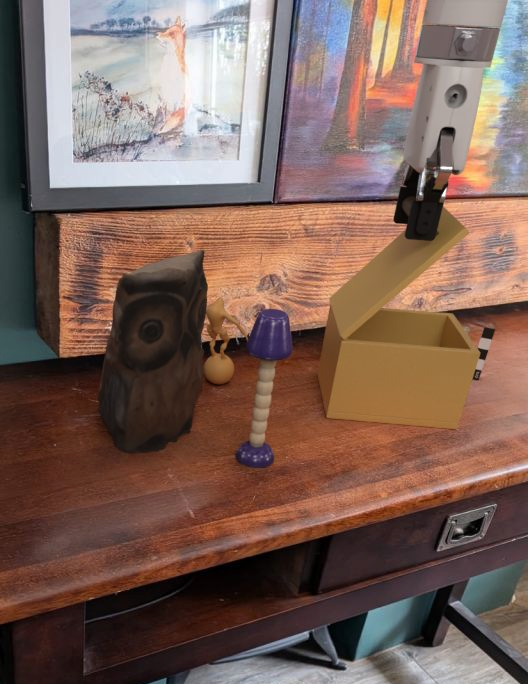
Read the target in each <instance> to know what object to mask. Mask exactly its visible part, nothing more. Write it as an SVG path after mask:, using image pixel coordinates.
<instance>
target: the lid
mask: <svg viewBox="0 0 528 684" xmlns="http://www.w3.org/2000/svg"><path fill="white" fill-rule="evenodd" d="M412 200H416V198H415V197H413V196H410V197H407V198H406V199H405V200H404V201H403V203H402V209H403V210H404V212H405V213H406V214H407V215H408V216H409V214H410V209H411V205H412ZM405 231H406V229H404V230H403V231H402V232H401V233H400V234H399V235H398V236H396V237H395V238H394V239H393V240H392V241H391V242H390V243H389V244H388V245H387V246H385V247H384V248H383V249H382V250H381V251H380V252H379V253H378V254H376V255H375V256H374V257H373V258H372V259H370V261H368V263H366V264H365V265H364V266H363V267H361V269H360V270H358V272H357V273H355V274H354V275H353V276H352V277H351V278H350V279H348V280H347V281H346V282H345V283H344V284H343V285H342V286H341V287H340V288H339V289H337V291H335V292H334V293H333V294H332V295H331V296H330V297H329V298H328V299H329V303H330V304H331V307H332V310H333V313H334V317H335V320H336V323H337V327H338V330H339V333H340V336H341V337H342V338H343V339H344V340H345V339H346V338H347V337H348V336H350V335H351V334H352V333H353V332H354V331H356V330H357V329H358V328H359V327H360V326H361V325H363V324H364V323H365V322H366V321H367V320H368V319H370V318H371V317H372V316H373V315H374V314H375V313H377V312H378V311H379V310H380V309H381V308H385V306H386V305H387V304H389V302H391V301H392V300H393V299H394V298H395V297H397V296H398V295H399V294H400V293H402V291H403V290H405V289H406V288H407V287H408V286H410V285H411V284H412V283H413V282H414V281H415V280H416V279H418V278H419V277H420V276H421V275H422V274H423V273H425V272H426V271H427V270H429V269H430V267H432V266H433V265H434V264H435V263H436V262H438V261H439V260H440V259H441V258H442V257H444V256H445V255H446V254H448V252H449V251H450V250H452V249H453V248H454V247H455V246H457V245H458V244H459V243H461V241H462V240H463V239H464V238H466V237H467V236H468V235H469V234H470V231H469V229H468V228H467V227H466V226H465V225H464V224H462V223H461V221H460V220H458V218H456V217H455V216H454V215H453V214H452V213H451V212H450V211H449V210H448V209H447V208H446V207H445V206H444V205H443V209H442V213H441V216H440V220H439V224H438V228H437V232H436V236H435V239H434V240H433V241H425V240H411V239H406V237H405Z"/></svg>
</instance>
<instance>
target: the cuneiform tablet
mask: <svg viewBox="0 0 528 684" xmlns="http://www.w3.org/2000/svg"><path fill="white" fill-rule="evenodd" d="M461 326H462V327H463V329H464V330H465V331H466V333H467V334H468V336H469V337H470V334H471V332H472V327H470V326H466V325H464V324H463V325H462V324H461ZM495 332H496V328H491V327H487V326H484V327H483V330H482V333H481V336H480V339H479V343H478V346H477V348H478V350H479V351H480V356H479V360H478V363H477V366H476V369H475V372H474V376H473V379H472V380H475V381H479V380H480V377H481V374H482V373H483V372H482V371H483V369H484V365H485V362H486V360H487V357H488V353H489V350H490V347H491V345H492V342H493V338H494V335H495Z"/></svg>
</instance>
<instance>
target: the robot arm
mask: <svg viewBox="0 0 528 684" xmlns="http://www.w3.org/2000/svg"><path fill="white" fill-rule="evenodd" d="M508 2H509V0H426V2H425V7H424V11H423V17H422V21H421V27H420V31H419V36H418V41H417V45H416V51H415V55H414V59H413V63H414V64H422V68H421V72H420V77H419V81H418V82H417V87H416V91H415V92H416V93H415V96H414V100H413V104H412V109H411V113H410V118H409V122H408V125H407V126H408V127H407V131H406V136H405V142H404V148H403V159H404V161H405V162H406V164H405V170H404V173H403V176H402V180H401V186H399V191H398V195H397V201H396V204H395V210H394V215H393V220H392V221H393V222H394V224H396V225H397V224H399V225H406V227H405V230H406V231H405V237H406V239H411V240H425V241H433V240H434V239H435V236H436V232H437V228H438V224H439V220H440V216H441V213H442V209H443V206H444V204H445V201H446V196H447V191H448V190H447V189H448V187H449V179H450V177H451V175H453V176H460V175H461V174H462V173H463V172H464V171H465V168H466V165H467V161H468V156H469V152H470V146H471V142H472V138H473V134H474V129H475V123H476V120H477V114H478V110H479V104H480V98H481V93H482V86H483V80H484V72H485V68H488V69H489V68H491V67H492V63H493V59H494V55H495V52H496V47H497V44H498V39H499V36H500V32H501V28H502V25H503V21H504V17H505V13H506V9H507V4H508ZM410 196H413V197H415V198H416V200H412V205H411V209H410V214H409V216H408V215H407V214H406V213H405V212H404V210H403V209H402V203H403V201H404V200H405V199H406V198H407V197H410Z"/></svg>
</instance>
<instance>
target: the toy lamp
mask: <svg viewBox="0 0 528 684" xmlns="http://www.w3.org/2000/svg"><path fill="white" fill-rule="evenodd" d="M245 349H246V352H247V353H248V354H249V355H250V356H252V357H253V358H256V359H259V365H260V366H259V367H258V370H257V378H258V379H257V381H256V386H255V390H256V394H255V395H254V399H253V400H254V402H253V403H254V406H253V408H252V412H251V414H252V415H251V416H252V420H251V422H250V433H249V434H248V440H245V441H244V442H243V443H241V444H240V445H239V446H238V448H237V450H236V453H235V459H236V461H238V462H239V463H240V464H242V465H244V466H246V467H250V468H258V469H259V468H260V469H261V468H266V467H269V466H271V465H272V464H273V463H274V461H275V454H274V450H273V449H272V447H271V445H270V444H269V443H267V442H265V441H266V432H267V429H268V418H269V417H270V406H271V403H272V392H273V389H274V381H273V380H274V378H275V376H276V365H277V363H278V361H283V360H286V359H289V357H291V355H292V353H293V339H292V330H291V322H290V317H289V315H288V313H287V312H286V311H284V310H282V309H278V308H266V309H263V310H262V309H261V310H260V311H259V313H258V314H257V316H256V318H255V321H254V323H253V326H252V328H251V331H250V333H249V336H248V341H247V340H246V345H245Z"/></svg>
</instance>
